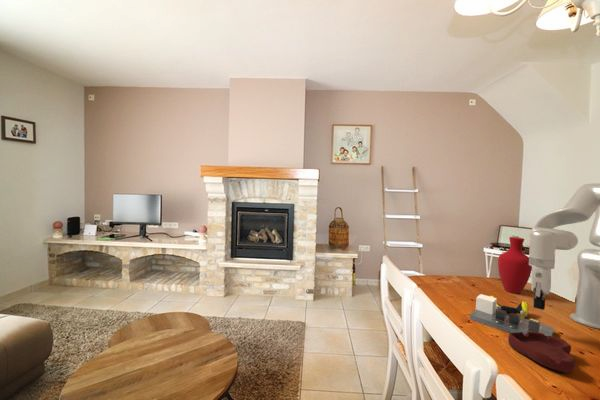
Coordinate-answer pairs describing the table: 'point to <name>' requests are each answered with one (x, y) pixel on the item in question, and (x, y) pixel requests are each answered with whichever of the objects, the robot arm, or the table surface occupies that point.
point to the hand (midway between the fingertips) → (539, 308)
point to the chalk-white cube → (486, 304)
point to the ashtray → (544, 350)
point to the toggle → (534, 325)
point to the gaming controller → (515, 309)
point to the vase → (514, 267)
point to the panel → (508, 322)
